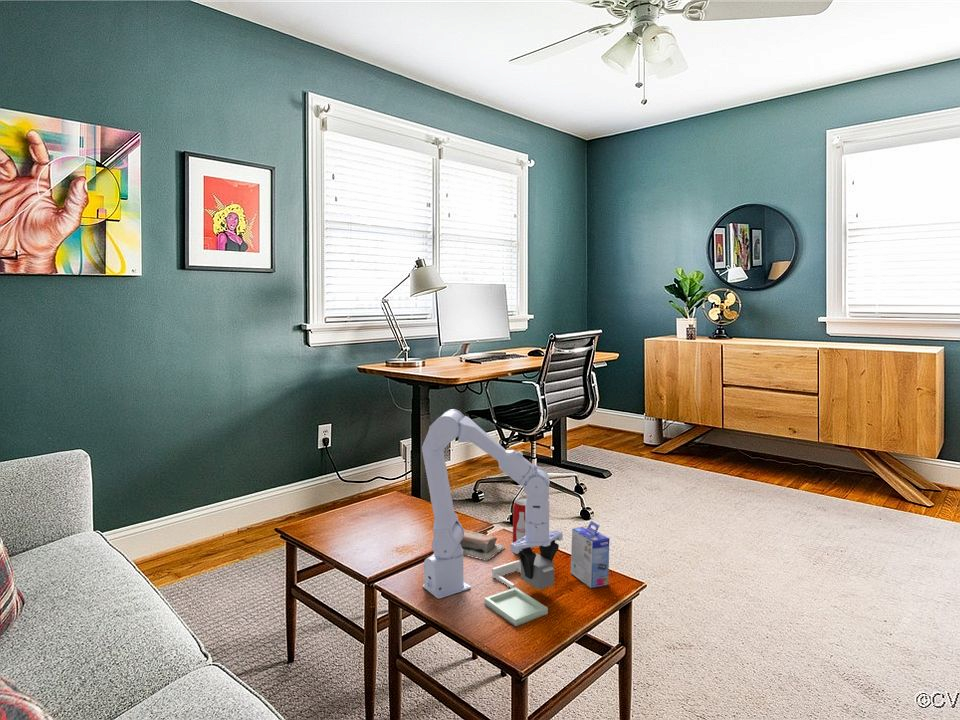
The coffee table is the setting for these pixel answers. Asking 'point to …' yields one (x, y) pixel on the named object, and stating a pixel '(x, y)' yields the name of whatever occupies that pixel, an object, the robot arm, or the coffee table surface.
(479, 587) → the coffee table surface
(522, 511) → the beverage can
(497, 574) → the frame
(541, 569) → the grey tabbed box
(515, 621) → the tray
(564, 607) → the coffee table surface
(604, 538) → the ink cartridge box
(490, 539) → the packaged product
